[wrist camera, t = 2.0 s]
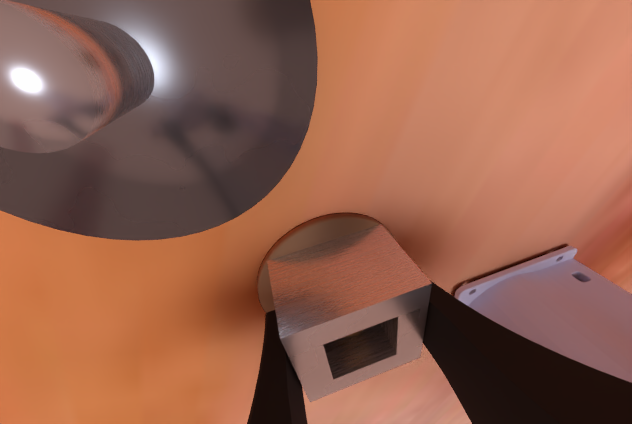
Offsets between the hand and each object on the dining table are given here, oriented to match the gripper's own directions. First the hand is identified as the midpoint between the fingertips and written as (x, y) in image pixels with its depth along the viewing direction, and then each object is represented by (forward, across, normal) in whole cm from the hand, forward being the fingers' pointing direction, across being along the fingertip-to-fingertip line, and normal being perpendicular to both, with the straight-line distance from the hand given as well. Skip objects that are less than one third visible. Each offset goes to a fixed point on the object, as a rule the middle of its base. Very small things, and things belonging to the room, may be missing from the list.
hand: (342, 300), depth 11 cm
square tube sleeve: (+1, 0, 0) cm, 1 cm away
